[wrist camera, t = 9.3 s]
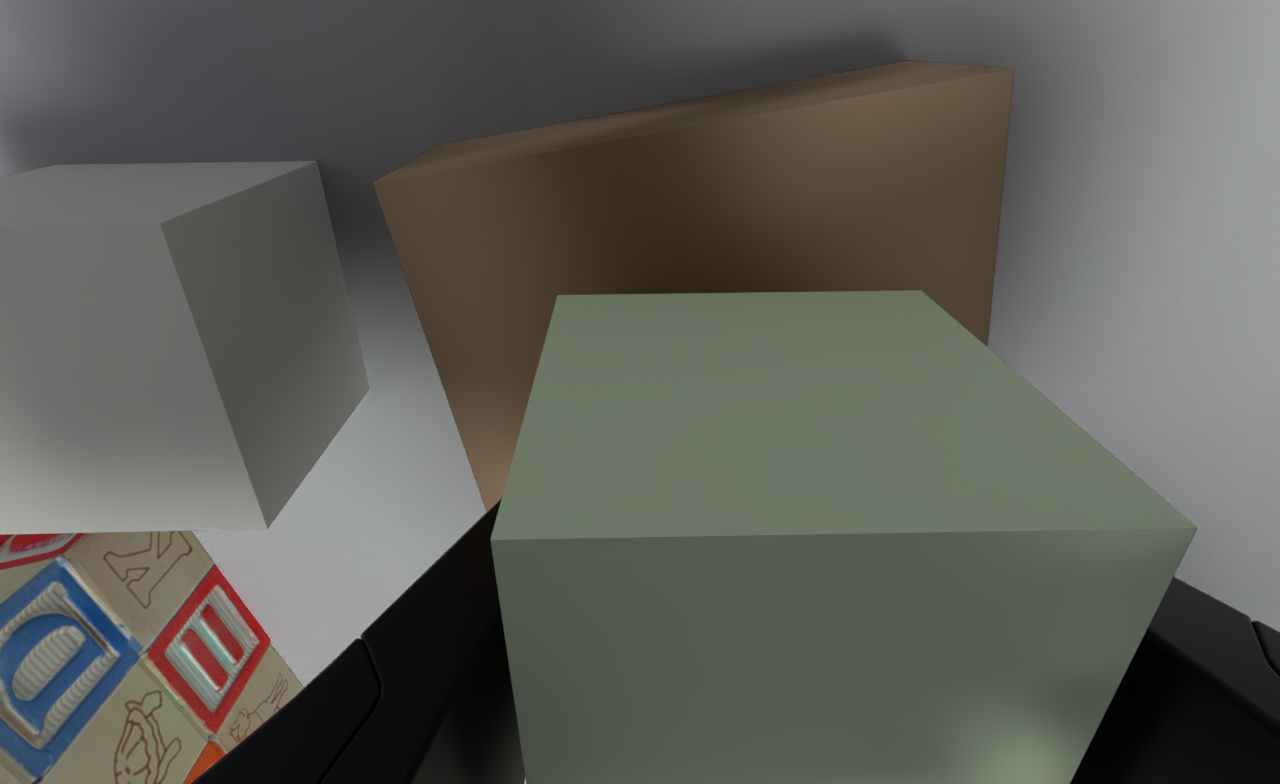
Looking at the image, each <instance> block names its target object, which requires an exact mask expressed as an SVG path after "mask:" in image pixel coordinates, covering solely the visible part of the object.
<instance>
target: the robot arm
mask: <svg viewBox="0 0 1280 784" xmlns="http://www.w3.org/2000/svg"><path fill="white" fill-rule="evenodd" d="M501 499H502V498H501ZM501 499H500V500H499V501H498V502H497V503H496V504H495V505H494V506H493V507H492V508H491V509H490V510H489V511H488V512H487V513H486V514H485V515H483V516H482V517H481V518H480V519H479V520H478V521H477V522H476V523H475V524H474V525H473V526H472V527H471V528H470V529H469V530H468V531H467V532H466V533H465V534H464V535H463V536H462V537H461V538H460V539H459V540H458V541H457V542H456V543H455V544H454V545H453V546H452V547H451V548H449V549H448V550H447V551H446V552H445V553H444V554H443V555H442V556H441V557H440V558H439V559H438V560H437V561H436V562H435V563H434V564H433V565H432V566H431V567H430V568H429V569H428V570H427V571H426V572H425V573H424V574H423V575H422V576H421V577H420V578H419V579H418V580H417V581H415V582H414V583H413V584H412V585H411V586H410V587H409V588H408V589H407V590H406V591H405V592H404V593H403V594H402V595H401V596H400V597H399V598H398V599H397V600H396V601H395V602H394V603H393V604H392V605H391V606H390V607H389V608H388V609H387V610H386V611H385V612H384V613H382V614H381V615H380V616H379V617H378V618H377V619H376V620H375V621H374V622H373V623H372V624H371V625H370V626H369V627H368V628H367V629H366V630H365V631H364V632H363V633H362V634H361V639H356V640H354V641H353V642H352V643H351V644H350V645H349V646H348V647H347V648H346V649H345V650H344V651H343V652H342V653H341V654H340V655H339V656H338V657H337V658H336V659H335V660H334V661H333V662H332V663H331V664H329V665H328V666H327V667H326V668H325V669H324V670H323V671H322V672H321V673H320V674H319V675H318V676H316V677H315V678H314V679H313V680H312V681H311V682H310V683H309V684H308V685H307V686H306V687H305V688H303V689H302V690H301V691H300V692H299V693H298V694H297V695H296V696H295V697H294V698H292V699H291V700H290V701H289V702H288V703H287V704H285V705H284V706H283V707H282V708H281V709H280V710H278V711H277V712H276V713H275V714H274V715H272V716H271V717H270V718H269V719H268V720H267V721H265V722H264V723H263V724H262V725H261V726H260V727H258V728H257V729H256V730H255V731H254V732H252V733H251V734H250V735H249V736H248V737H247V738H245V739H244V740H243V741H242V742H240V743H239V744H238V745H237V746H236V747H234V748H233V749H232V750H231V751H229V752H228V753H227V754H226V755H225V756H223V757H222V758H221V759H220V760H218V761H217V762H216V763H215V764H214V765H212V766H211V767H210V768H209V769H207V770H206V771H205V772H204V773H203V774H201V775H200V776H199V777H198V778H196V779H195V780H194V781H193V782H192V783H190V784H524V781H525V770H524V763H523V756H522V750H521V743H520V736H519V729H518V723H517V716H516V709H515V702H514V696H513V689H512V682H511V675H510V669H509V662H508V655H507V648H506V642H505V635H504V628H503V621H502V615H501V608H500V601H499V594H498V588H497V581H496V574H495V567H494V561H493V554H492V547H491V540H490V539H491V536H492V532H493V529H494V525H495V521H496V518H497V514H498V510H499V507H500V503H501ZM1070 784H1280V632H1278V631H1276V630H1274V629H1272V628H1271V627H1269V626H1267V625H1265V624H1263V623H1261V622H1259V621H1252V622H1251V619H1250V617H1249V616H1247V615H1246V614H1244V613H1242V612H1240V611H1238V610H1236V609H1234V608H1232V607H1230V606H1228V605H1227V604H1225V603H1223V602H1221V601H1219V600H1217V599H1215V598H1213V597H1211V596H1209V595H1207V594H1206V593H1204V592H1202V591H1200V590H1198V589H1196V588H1194V587H1192V586H1190V585H1188V584H1186V583H1185V582H1183V581H1181V580H1179V579H1177V578H1175V577H1173V578H1172V580H1171V582H1170V584H1169V586H1168V588H1167V590H1166V592H1165V594H1164V596H1163V598H1162V600H1161V602H1160V604H1159V606H1158V608H1157V610H1156V612H1155V614H1154V616H1153V618H1152V620H1151V622H1150V624H1149V626H1148V628H1147V630H1146V632H1145V634H1144V636H1143V638H1142V640H1141V642H1140V644H1139V646H1138V648H1137V650H1136V652H1135V654H1134V656H1133V658H1132V660H1131V662H1130V664H1129V666H1128V668H1127V670H1126V672H1125V674H1124V676H1123V678H1122V680H1121V682H1120V684H1119V686H1118V688H1117V690H1116V692H1115V694H1114V696H1113V698H1112V700H1111V702H1110V704H1109V706H1108V708H1107V710H1106V712H1105V714H1104V716H1103V718H1102V720H1101V722H1100V724H1099V726H1098V728H1097V730H1096V732H1095V734H1094V736H1093V738H1092V740H1091V742H1090V744H1089V746H1088V748H1087V750H1086V752H1085V754H1084V756H1083V758H1082V760H1081V762H1080V764H1079V766H1078V768H1077V770H1076V772H1075V774H1074V776H1073V778H1072V780H1071V782H1070Z"/></svg>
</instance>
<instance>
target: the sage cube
mask: <svg viewBox="0 0 1280 784" xmlns="http://www.w3.org/2000/svg"><path fill="white" fill-rule="evenodd" d="M1196 530H1197V527H1196V526H1195V525H1194V524H1193V523H1191V522H1190V521H1189V520H1188V519H1187V518H1186V517H1184V516H1183V515H1182V514H1181V513H1180V512H1179V511H1177V510H1176V509H1175V508H1174V507H1173V506H1172V505H1170V504H1169V503H1168V502H1167V501H1166V500H1165V499H1163V498H1162V497H1161V496H1160V495H1159V494H1158V493H1156V492H1155V491H1154V490H1153V489H1152V488H1151V487H1149V486H1148V485H1147V484H1146V483H1145V482H1144V481H1142V480H1141V479H1140V478H1139V477H1138V476H1137V475H1135V474H1134V473H1133V472H1132V471H1131V470H1130V469H1128V468H1127V467H1126V466H1125V465H1124V464H1123V463H1122V462H1120V461H1119V460H1118V459H1117V458H1116V457H1115V456H1113V455H1112V454H1111V453H1110V452H1109V451H1108V450H1106V449H1105V448H1104V447H1103V446H1102V445H1101V444H1099V443H1098V442H1097V441H1096V440H1095V439H1094V438H1092V437H1091V436H1090V435H1089V434H1088V433H1087V432H1085V431H1084V430H1083V429H1082V428H1081V427H1080V426H1078V425H1077V424H1076V423H1075V422H1074V421H1073V420H1071V419H1070V418H1069V417H1068V416H1067V415H1066V414H1064V413H1063V412H1062V411H1061V410H1060V409H1059V408H1058V407H1056V406H1055V405H1054V404H1053V403H1052V402H1051V401H1049V400H1048V399H1047V398H1046V397H1045V396H1044V395H1042V394H1041V393H1040V392H1039V391H1038V390H1037V389H1035V388H1034V387H1033V386H1032V385H1031V384H1030V383H1028V382H1027V381H1026V380H1025V379H1024V378H1023V377H1021V376H1020V375H1019V374H1018V373H1017V372H1016V371H1014V370H1013V369H1012V368H1011V367H1010V366H1009V365H1007V364H1006V363H1005V362H1004V361H1003V360H1002V359H1000V358H999V357H998V356H997V355H996V354H995V353H994V352H992V351H991V350H990V349H989V348H988V347H987V346H985V345H984V344H983V343H982V342H981V341H980V340H978V339H977V338H976V337H975V336H974V335H973V334H971V333H970V332H969V331H968V330H967V329H966V328H964V327H963V326H962V325H961V324H960V323H959V322H957V321H956V320H955V319H954V318H953V317H952V316H950V315H949V314H948V313H947V312H946V311H945V310H943V309H942V308H941V307H940V306H939V305H938V304H936V303H935V302H934V301H933V300H932V299H931V298H929V297H928V296H927V295H926V294H925V293H924V292H923V291H921V290H909V291H832V292H755V293H679V294H602V295H557V299H556V302H555V306H554V310H553V313H552V317H551V321H550V324H549V328H548V331H547V335H546V339H545V342H544V346H543V350H542V353H541V357H540V361H539V364H538V368H537V372H536V375H535V379H534V383H533V386H532V390H531V394H530V397H529V401H528V404H527V408H526V412H525V415H524V419H523V423H522V426H521V430H520V434H519V437H518V441H517V445H516V448H515V452H514V456H513V459H512V463H511V467H510V470H509V474H508V477H507V481H506V485H505V488H504V492H503V496H502V499H501V503H500V507H499V510H498V514H497V518H496V521H495V525H494V529H493V532H492V536H491V539H490V540H491V547H492V554H493V561H494V567H495V574H496V581H497V588H498V594H499V601H500V608H501V615H502V621H503V628H504V635H505V642H506V648H507V655H508V662H509V669H510V675H511V682H512V689H513V696H514V702H515V709H516V716H517V723H518V729H519V736H520V743H521V750H522V756H523V763H524V770H525V777H526V783H527V784H1070V782H1071V780H1072V778H1073V776H1074V774H1075V772H1076V770H1077V768H1078V766H1079V764H1080V762H1081V760H1082V758H1083V756H1084V754H1085V752H1086V750H1087V748H1088V746H1089V744H1090V742H1091V740H1092V738H1093V736H1094V734H1095V732H1096V730H1097V728H1098V726H1099V724H1100V722H1101V720H1102V718H1103V716H1104V714H1105V712H1106V710H1107V708H1108V706H1109V704H1110V702H1111V700H1112V698H1113V696H1114V694H1115V692H1116V690H1117V688H1118V686H1119V684H1120V682H1121V680H1122V678H1123V676H1124V674H1125V672H1126V670H1127V668H1128V666H1129V664H1130V662H1131V660H1132V658H1133V656H1134V654H1135V652H1136V650H1137V648H1138V646H1139V644H1140V642H1141V640H1142V638H1143V636H1144V634H1145V632H1146V630H1147V628H1148V626H1149V624H1150V622H1151V620H1152V618H1153V616H1154V614H1155V612H1156V610H1157V608H1158V606H1159V604H1160V602H1161V600H1162V598H1163V596H1164V594H1165V592H1166V590H1167V588H1168V586H1169V584H1170V582H1171V580H1172V578H1173V576H1174V574H1175V572H1176V570H1177V568H1178V566H1179V564H1180V562H1181V560H1182V558H1183V556H1184V554H1185V552H1186V550H1187V548H1188V546H1189V544H1190V542H1191V540H1192V538H1193V536H1194V534H1195V532H1196Z"/></svg>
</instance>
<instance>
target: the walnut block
mask: <svg viewBox="0 0 1280 784" xmlns="http://www.w3.org/2000/svg"><path fill="white" fill-rule="evenodd" d="M1013 73H1014V69H1007V68H995V67H984V66H972V65H960V64H948V63H937V62H925V61H913V60H909V61H903V62H898V63H892V64H887V65H881V66H876V67H870V68H865V69H859V70H854V71H848V72H842V73H837V74H831V75H826V76H820V77H815V78H809V79H804V80H798V81H792V82H787V83H781V84H776V85H770V86H765V87H759V88H754V89H748V90H743V91H737V92H731V93H726V94H720V95H715V96H709V97H704V98H698V99H693V100H687V101H681V102H676V103H670V104H665V105H659V106H654V107H648V108H643V109H637V110H632V111H626V112H620V113H615V114H609V115H604V116H598V117H593V118H587V119H582V120H576V121H571V122H565V123H559V124H554V125H548V126H543V127H537V128H532V129H526V130H521V131H515V132H509V133H504V134H498V135H493V136H487V137H482V138H476V139H471V140H465V141H460V142H454V143H448V144H443V145H437V146H436V147H434V148H432V149H430V150H429V151H427V152H425V153H423V154H422V155H420V156H418V157H417V158H415V159H413V160H411V161H410V162H408V163H406V164H404V165H403V166H401V167H399V168H397V169H396V170H394V171H392V172H391V173H389V174H387V175H385V176H384V177H382V178H380V179H378V180H377V181H375V182H373V186H374V189H375V192H376V195H377V198H378V201H379V203H380V206H381V209H382V212H383V215H384V218H385V221H386V224H387V226H388V229H389V232H390V235H391V238H392V241H393V244H394V247H395V249H396V252H397V255H398V258H399V261H400V264H401V267H402V270H403V272H404V275H405V278H406V281H407V284H408V287H409V290H410V293H411V295H412V298H413V301H414V304H415V307H416V310H417V313H418V316H419V318H420V321H421V324H422V327H423V330H424V333H425V336H426V339H427V341H428V344H429V347H430V350H431V353H432V356H433V359H434V362H435V364H436V367H437V370H438V373H439V376H440V379H441V382H442V385H443V388H444V390H445V393H446V396H447V399H448V402H449V405H450V408H451V411H452V413H453V416H454V419H455V422H456V425H457V428H458V431H459V434H460V436H461V439H462V442H463V445H464V448H465V451H466V454H467V457H468V459H469V462H470V465H471V468H472V471H473V474H474V477H475V480H476V482H477V485H478V488H479V491H480V494H481V497H482V500H483V503H484V505H485V508H486V511H487V512H488V511H489V510H490V509H491V508H492V507H493V506H494V505H495V504H496V503H497V502H498V501H499V500H500V499H501V498H502V496H503V492H504V488H505V485H506V481H507V477H508V474H509V470H510V467H511V463H512V459H513V456H514V452H515V448H516V445H517V441H518V437H519V434H520V430H521V426H522V423H523V419H524V415H525V412H526V408H527V404H528V401H529V397H530V394H531V390H532V386H533V383H534V379H535V375H536V372H537V368H538V364H539V361H540V357H541V353H542V350H543V346H544V342H545V339H546V335H547V331H548V328H549V324H550V321H551V317H552V313H553V310H554V306H555V302H556V299H557V295H602V294H679V293H755V292H832V291H909V290H921V291H923V292H924V293H925V294H926V295H927V296H928V297H929V298H931V299H932V300H933V301H934V302H935V303H936V304H938V305H939V306H940V307H941V308H942V309H943V310H945V311H946V312H947V313H948V314H949V315H950V316H952V317H953V318H954V319H955V320H956V321H957V322H959V323H960V324H961V325H962V326H963V327H964V328H966V329H967V330H968V331H969V332H970V333H971V334H973V335H974V336H975V337H976V338H977V339H978V340H980V341H981V342H982V343H983V344H984V345H985V346H988V336H989V325H990V315H991V304H992V294H993V283H994V273H995V262H996V252H997V241H998V231H999V220H1000V210H1001V199H1002V189H1003V178H1004V168H1005V157H1006V147H1007V136H1008V126H1009V115H1010V105H1011V94H1012V84H1013Z"/></svg>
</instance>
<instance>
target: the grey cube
mask: <svg viewBox="0 0 1280 784" xmlns="http://www.w3.org/2000/svg"><path fill="white" fill-rule="evenodd" d="M369 389H370V388H369V384H368V380H367V375H366V371H365V367H364V362H363V358H362V354H361V349H360V345H359V341H358V336H357V332H356V328H355V323H354V319H353V315H352V310H351V306H350V302H349V297H348V293H347V289H346V284H345V280H344V276H343V271H342V267H341V263H340V258H339V254H338V250H337V245H336V241H335V237H334V232H333V228H332V224H331V219H330V215H329V211H328V206H327V202H326V198H325V193H324V189H323V185H322V180H321V176H320V172H319V167H318V163H317V161H281V162H205V163H130V164H56V165H52V166H47V167H43V168H38V169H34V170H29V171H25V172H20V173H16V174H11V175H7V176H2V177H0V535H4V534H51V533H99V532H146V531H194V530H241V529H268V528H269V526H270V525H271V523H272V522H273V521H274V519H275V518H276V517H277V515H278V514H279V512H280V511H281V510H282V508H283V507H284V506H285V504H286V503H287V501H288V500H289V499H290V497H291V496H292V495H293V493H294V492H295V491H296V489H297V488H298V486H299V485H300V484H301V482H302V481H303V480H304V478H305V477H306V475H307V474H308V473H309V471H310V470H311V469H312V467H313V466H314V464H315V463H316V462H317V460H318V459H319V458H320V456H321V455H322V453H323V452H324V451H325V449H326V448H327V447H328V445H329V444H330V442H331V441H332V440H333V438H334V437H335V436H336V434H337V433H338V432H339V430H340V429H341V427H342V426H343V425H344V423H345V422H346V421H347V419H348V418H349V416H350V415H351V414H352V412H353V411H354V410H355V408H356V407H357V405H358V404H359V403H360V401H361V400H362V399H363V397H364V396H365V394H366V393H367V392H368V390H369Z"/></svg>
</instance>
